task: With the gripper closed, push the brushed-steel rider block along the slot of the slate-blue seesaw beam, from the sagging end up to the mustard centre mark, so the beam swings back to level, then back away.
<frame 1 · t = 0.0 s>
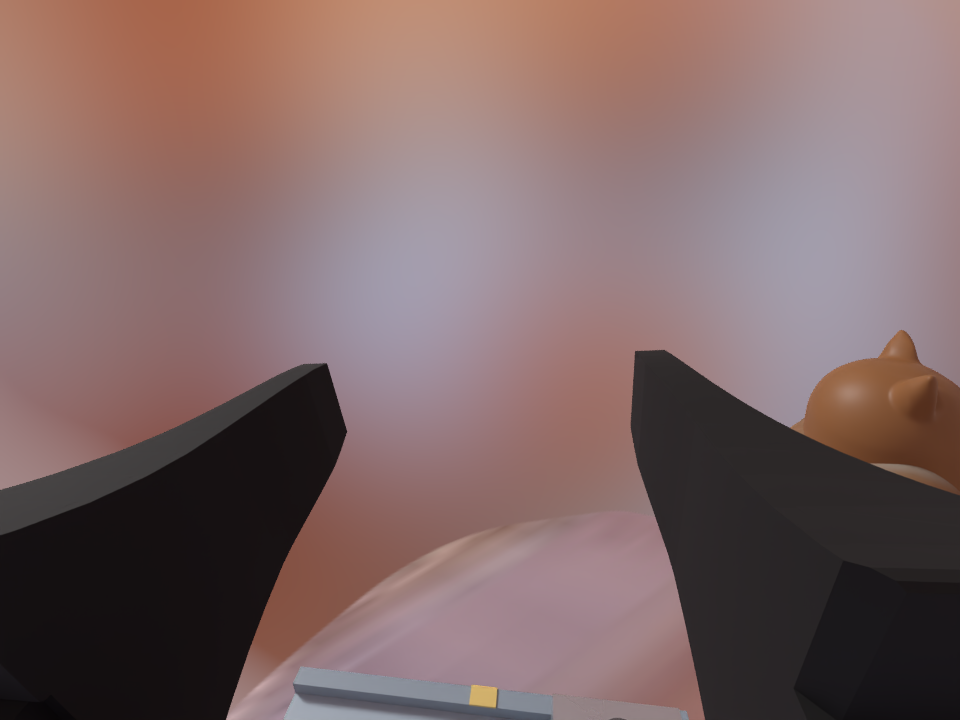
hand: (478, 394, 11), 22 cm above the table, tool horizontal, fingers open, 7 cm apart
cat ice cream: (820, 645, 26), on the table
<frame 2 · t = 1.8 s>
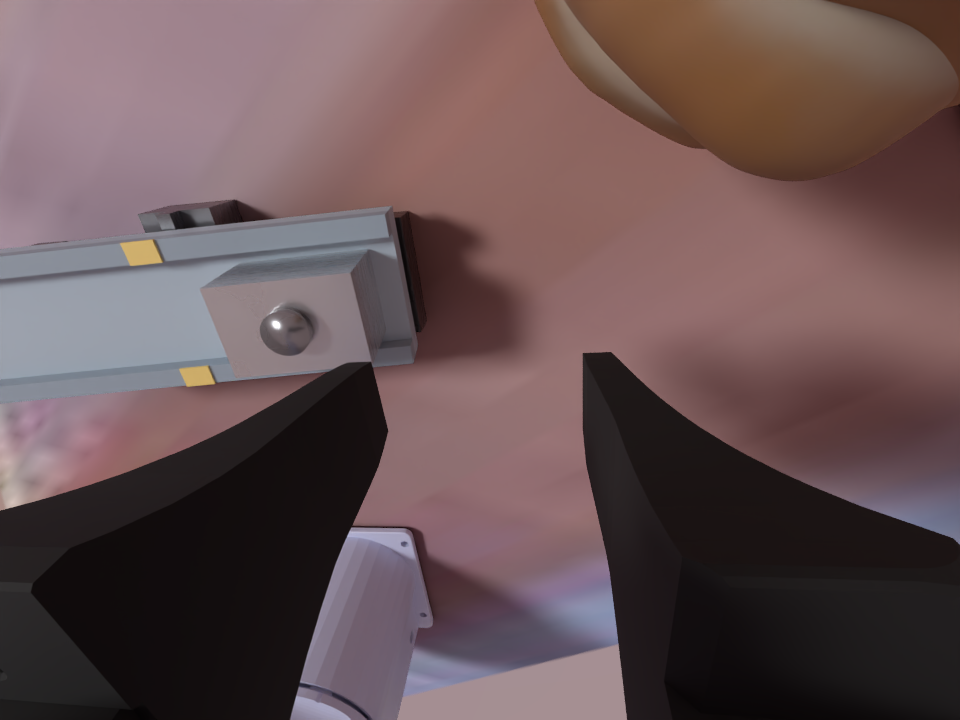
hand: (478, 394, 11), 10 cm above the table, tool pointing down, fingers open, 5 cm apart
rider: (316, 297, 19), point 3 cm above the table, tilted 7°, touching beam
stand: (230, 282, 22), on the table
beam: (183, 310, 19), point 3 cm above the table, hinge at 7.0°, touching rider
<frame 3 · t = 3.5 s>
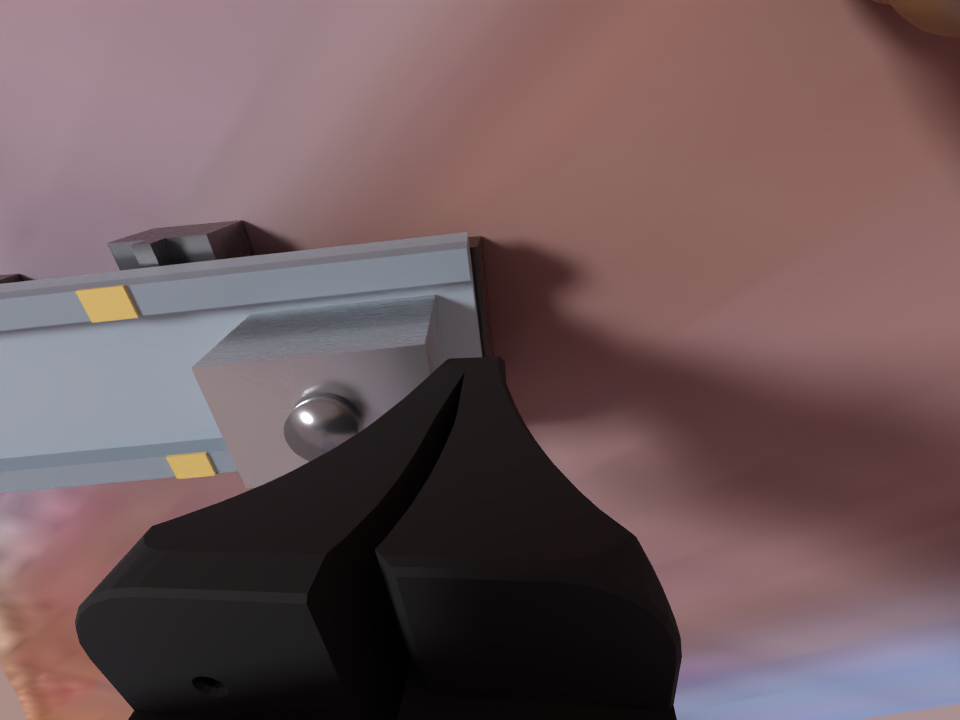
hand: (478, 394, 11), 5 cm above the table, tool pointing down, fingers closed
rider: (357, 360, 13), point 3 cm above the table, tilted 7°, touching beam, gripper
stand: (235, 327, 17), on the table
beam: (171, 377, 13), point 3 cm above the table, hinge at 7.0°, touching rider
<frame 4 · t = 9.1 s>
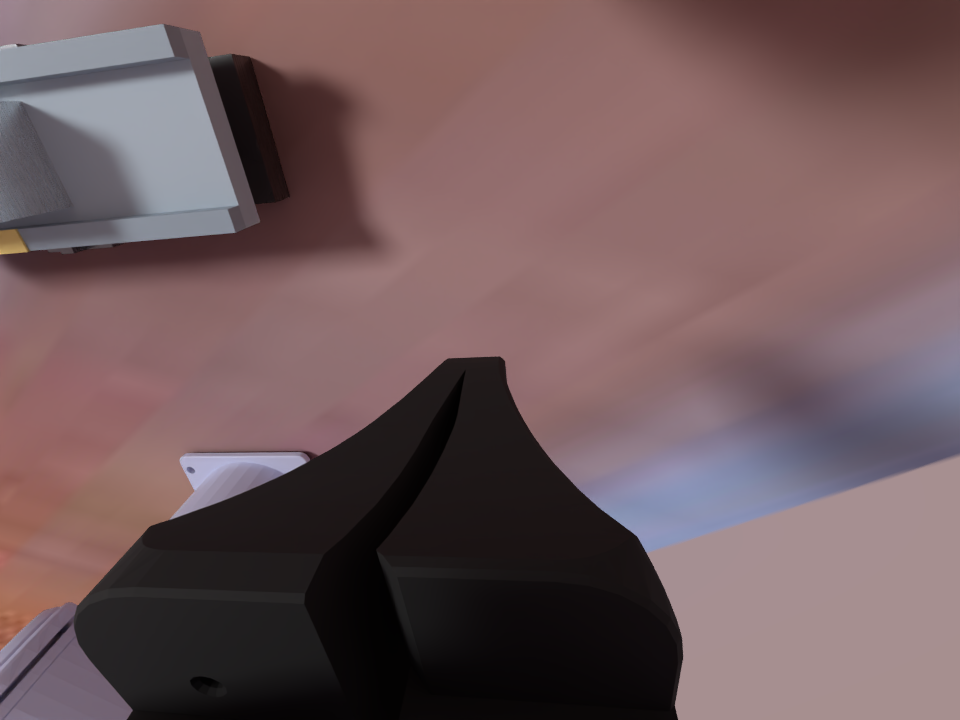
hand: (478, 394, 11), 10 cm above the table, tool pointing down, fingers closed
stand: (73, 154, 20), on the table
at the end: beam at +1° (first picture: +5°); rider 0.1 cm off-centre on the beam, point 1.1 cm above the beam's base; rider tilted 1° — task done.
